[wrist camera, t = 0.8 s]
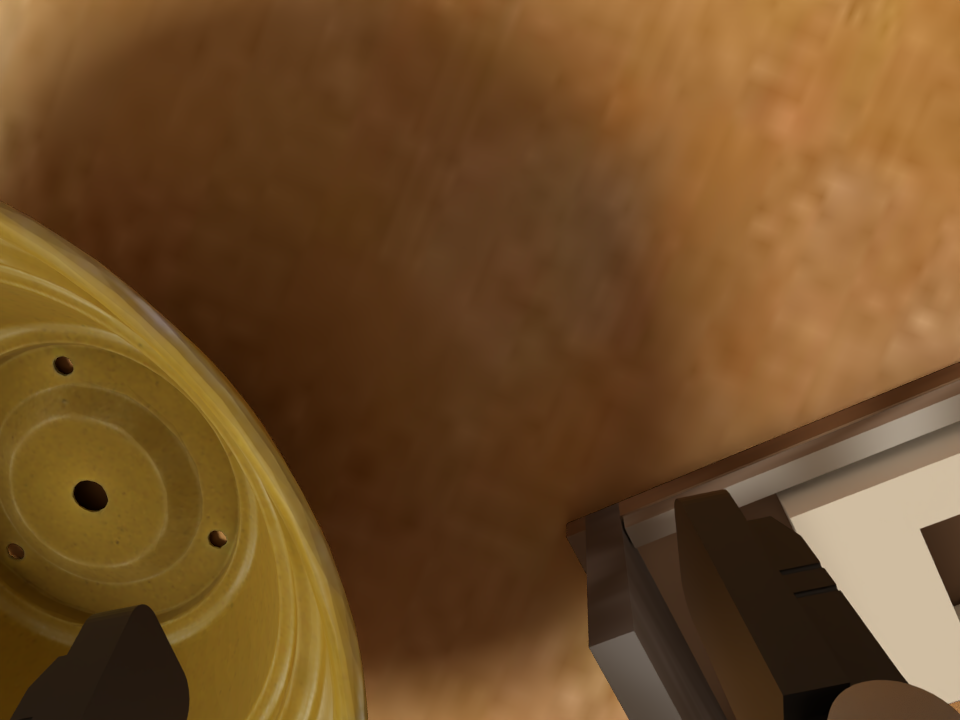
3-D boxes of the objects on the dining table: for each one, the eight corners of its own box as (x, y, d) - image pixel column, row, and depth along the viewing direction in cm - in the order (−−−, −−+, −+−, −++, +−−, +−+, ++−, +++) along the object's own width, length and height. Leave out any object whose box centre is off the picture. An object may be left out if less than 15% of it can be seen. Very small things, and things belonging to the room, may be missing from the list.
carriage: (1035, 389, 28) (1072, 410, 26) (1116, 604, 30) (1156, 638, 28) (775, 492, 31) (790, 518, 28) (866, 684, 33) (886, 722, 30)
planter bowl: (468, 165, 30) (389, 187, 17) (419, 805, 39) (344, 1130, 26) (-268, 98, 33) (-810, 73, 20) (-150, 708, 42) (-466, 958, 29)
